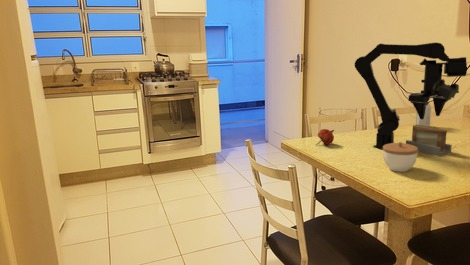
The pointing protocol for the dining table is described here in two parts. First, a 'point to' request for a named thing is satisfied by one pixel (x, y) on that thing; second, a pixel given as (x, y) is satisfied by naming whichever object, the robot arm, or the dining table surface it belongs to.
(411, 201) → the dining table surface
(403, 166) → the lidded jar
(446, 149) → the display ledge
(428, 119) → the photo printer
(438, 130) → the brown flat block
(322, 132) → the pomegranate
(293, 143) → the dining table surface
